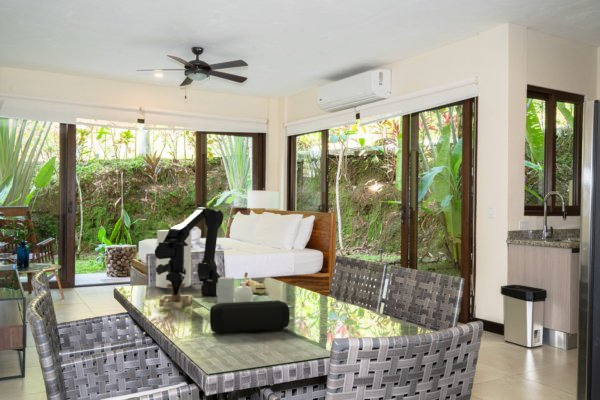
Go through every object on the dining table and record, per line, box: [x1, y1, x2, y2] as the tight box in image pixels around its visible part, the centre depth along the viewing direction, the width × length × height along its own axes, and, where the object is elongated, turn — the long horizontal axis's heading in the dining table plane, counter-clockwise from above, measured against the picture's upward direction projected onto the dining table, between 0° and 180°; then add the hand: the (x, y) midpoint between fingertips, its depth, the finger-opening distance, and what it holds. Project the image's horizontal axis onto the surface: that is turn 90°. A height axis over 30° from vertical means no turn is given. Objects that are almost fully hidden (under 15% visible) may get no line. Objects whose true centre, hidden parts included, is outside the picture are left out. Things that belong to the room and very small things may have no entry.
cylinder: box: [155, 229, 192, 289], centre depth 253 cm, size 17×17×28 cm
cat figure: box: [239, 272, 268, 295], centre depth 243 cm, size 10×9×25 cm
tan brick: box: [166, 283, 186, 303], centre depth 208 cm, size 7×3×8 cm, turn 97°
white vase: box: [233, 281, 254, 302], centre depth 192 cm, size 8×8×12 cm
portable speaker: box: [209, 300, 291, 335], centre depth 165 cm, size 26×10×10 cm, turn 110°
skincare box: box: [216, 276, 235, 304], centre depth 202 cm, size 6×4×12 cm
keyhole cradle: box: [158, 294, 193, 310], centre depth 204 cm, size 12×18×2 cm
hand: (176, 294), depth 208 cm, fingers closed on tan brick, 3 cm apart
